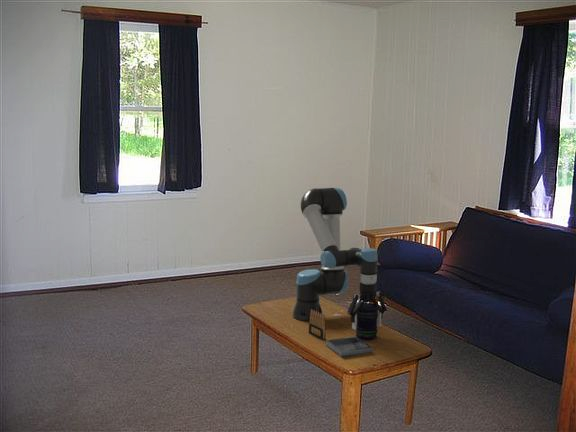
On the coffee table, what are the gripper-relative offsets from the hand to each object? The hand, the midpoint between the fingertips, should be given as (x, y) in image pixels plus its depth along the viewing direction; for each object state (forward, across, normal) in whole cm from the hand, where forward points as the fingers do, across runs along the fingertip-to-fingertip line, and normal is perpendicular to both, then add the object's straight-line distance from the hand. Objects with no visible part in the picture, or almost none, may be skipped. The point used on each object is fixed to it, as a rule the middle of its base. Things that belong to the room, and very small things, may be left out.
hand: (366, 327), depth 305 cm
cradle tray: (+5, -15, -11) cm, 19 cm away
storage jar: (+5, 0, 0) cm, 5 cm away
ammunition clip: (+5, -21, +9) cm, 23 cm away
